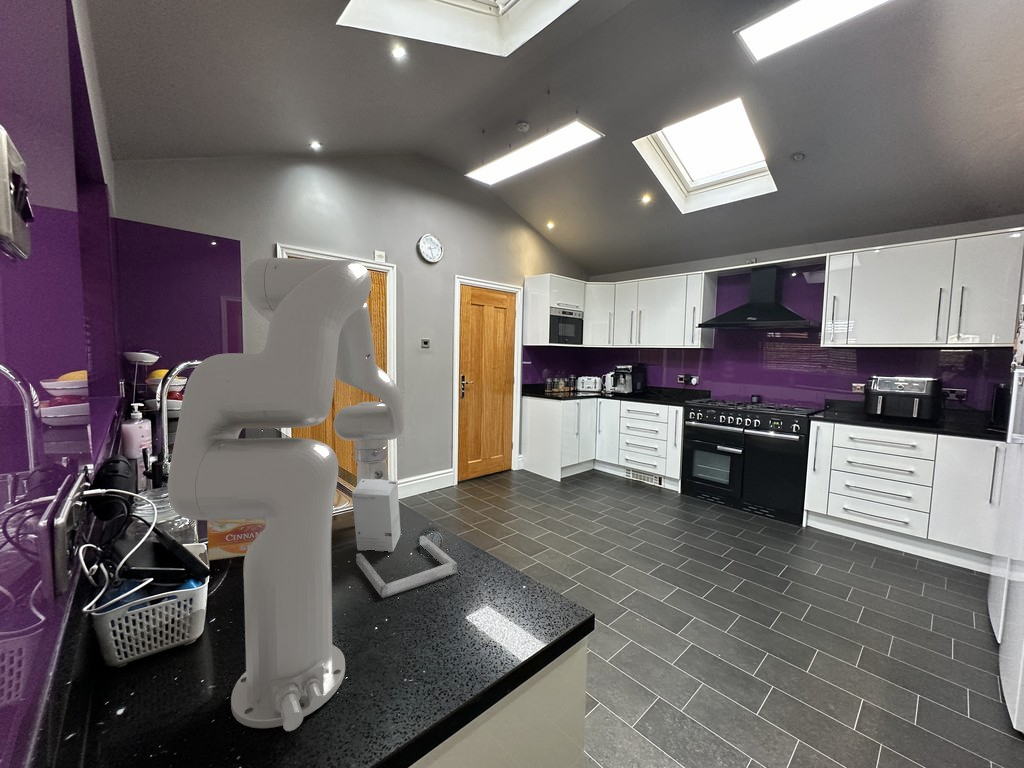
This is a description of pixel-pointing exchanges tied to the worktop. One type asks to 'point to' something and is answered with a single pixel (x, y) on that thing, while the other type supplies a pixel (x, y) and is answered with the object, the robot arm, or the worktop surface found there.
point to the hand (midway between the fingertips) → (371, 522)
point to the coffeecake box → (232, 537)
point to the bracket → (415, 580)
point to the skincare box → (376, 514)
